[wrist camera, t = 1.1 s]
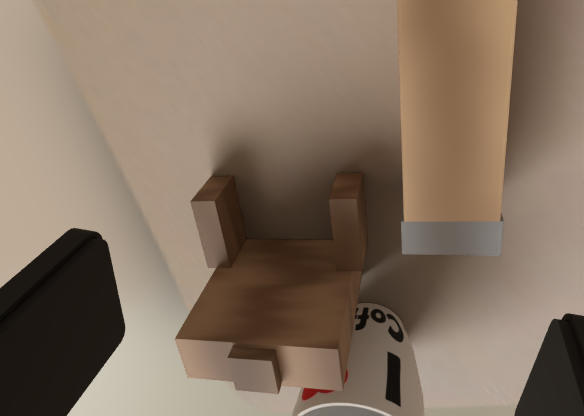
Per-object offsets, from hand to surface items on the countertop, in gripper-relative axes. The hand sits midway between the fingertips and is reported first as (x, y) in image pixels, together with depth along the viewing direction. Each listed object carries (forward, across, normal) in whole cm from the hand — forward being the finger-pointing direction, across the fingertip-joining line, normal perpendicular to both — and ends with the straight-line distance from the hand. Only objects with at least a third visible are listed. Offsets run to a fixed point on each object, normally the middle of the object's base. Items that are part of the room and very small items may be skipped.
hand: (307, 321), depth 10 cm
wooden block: (+20, -3, 0) cm, 20 cm away
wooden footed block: (+20, +5, +11) cm, 23 cm away
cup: (+20, -1, +19) cm, 28 cm away
